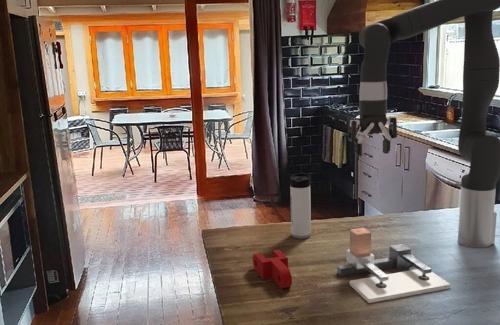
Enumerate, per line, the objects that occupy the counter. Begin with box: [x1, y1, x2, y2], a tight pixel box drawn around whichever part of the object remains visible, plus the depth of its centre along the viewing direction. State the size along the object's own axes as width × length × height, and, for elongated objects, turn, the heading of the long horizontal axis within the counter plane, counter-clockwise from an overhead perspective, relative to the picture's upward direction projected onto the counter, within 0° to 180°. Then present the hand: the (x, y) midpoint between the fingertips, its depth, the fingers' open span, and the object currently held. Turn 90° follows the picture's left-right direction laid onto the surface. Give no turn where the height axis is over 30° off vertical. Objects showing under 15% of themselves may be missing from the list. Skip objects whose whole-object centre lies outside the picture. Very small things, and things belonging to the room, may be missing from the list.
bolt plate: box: [349, 268, 451, 304], centre depth 122 cm, size 22×10×1 cm, turn 105°
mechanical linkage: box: [252, 249, 293, 289], centre depth 129 cm, size 16×7×5 cm, turn 19°
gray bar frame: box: [336, 243, 433, 277], centre depth 127 cm, size 22×14×5 cm, turn 105°
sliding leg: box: [345, 227, 389, 285], centre depth 125 cm, size 5×16×10 cm, turn 15°
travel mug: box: [289, 172, 312, 240], centre depth 156 cm, size 6×7×20 cm
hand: (372, 154), depth 141 cm, fingers open, 8 cm apart
